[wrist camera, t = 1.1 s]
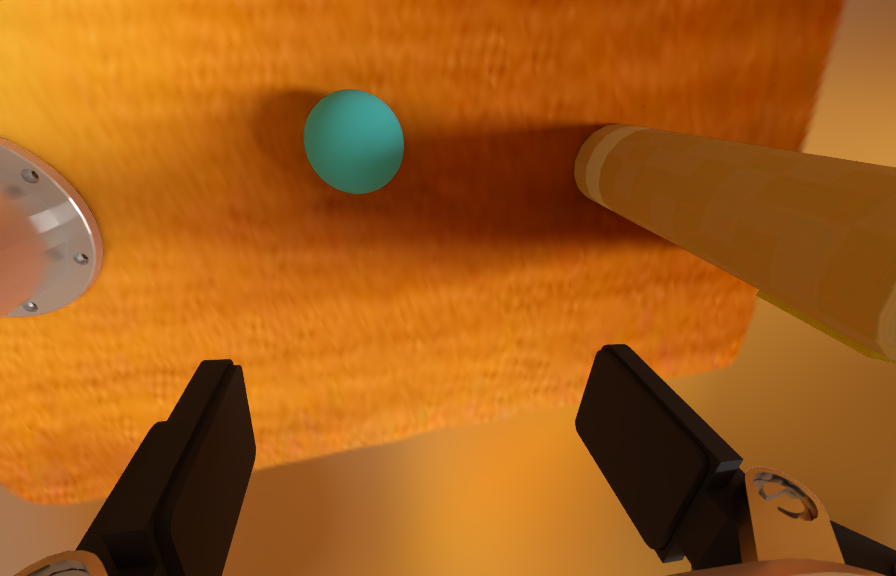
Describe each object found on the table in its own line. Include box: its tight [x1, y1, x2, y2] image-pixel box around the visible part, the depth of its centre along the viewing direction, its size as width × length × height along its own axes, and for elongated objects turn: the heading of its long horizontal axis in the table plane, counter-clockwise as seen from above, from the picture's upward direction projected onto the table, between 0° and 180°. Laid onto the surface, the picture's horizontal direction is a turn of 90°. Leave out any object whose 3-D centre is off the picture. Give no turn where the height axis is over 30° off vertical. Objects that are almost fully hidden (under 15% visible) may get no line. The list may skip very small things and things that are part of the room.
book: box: [574, 124, 896, 363], centre depth 21 cm, size 17×7×25 cm, turn 72°
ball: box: [304, 89, 404, 194], centre depth 24 cm, size 6×6×6 cm
